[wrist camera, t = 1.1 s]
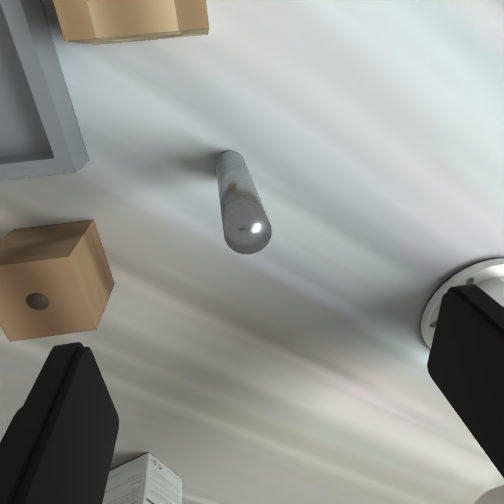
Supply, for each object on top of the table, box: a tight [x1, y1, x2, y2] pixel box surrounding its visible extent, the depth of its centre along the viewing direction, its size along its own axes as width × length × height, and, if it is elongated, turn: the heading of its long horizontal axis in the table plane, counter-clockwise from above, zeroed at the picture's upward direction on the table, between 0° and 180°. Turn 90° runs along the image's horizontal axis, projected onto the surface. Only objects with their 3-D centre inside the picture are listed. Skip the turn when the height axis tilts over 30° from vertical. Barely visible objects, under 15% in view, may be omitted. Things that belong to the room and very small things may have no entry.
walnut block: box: [0, 220, 114, 342], centre depth 26 cm, size 6×6×6 cm
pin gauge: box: [216, 151, 271, 254], centre depth 22 cm, size 2×2×12 cm
